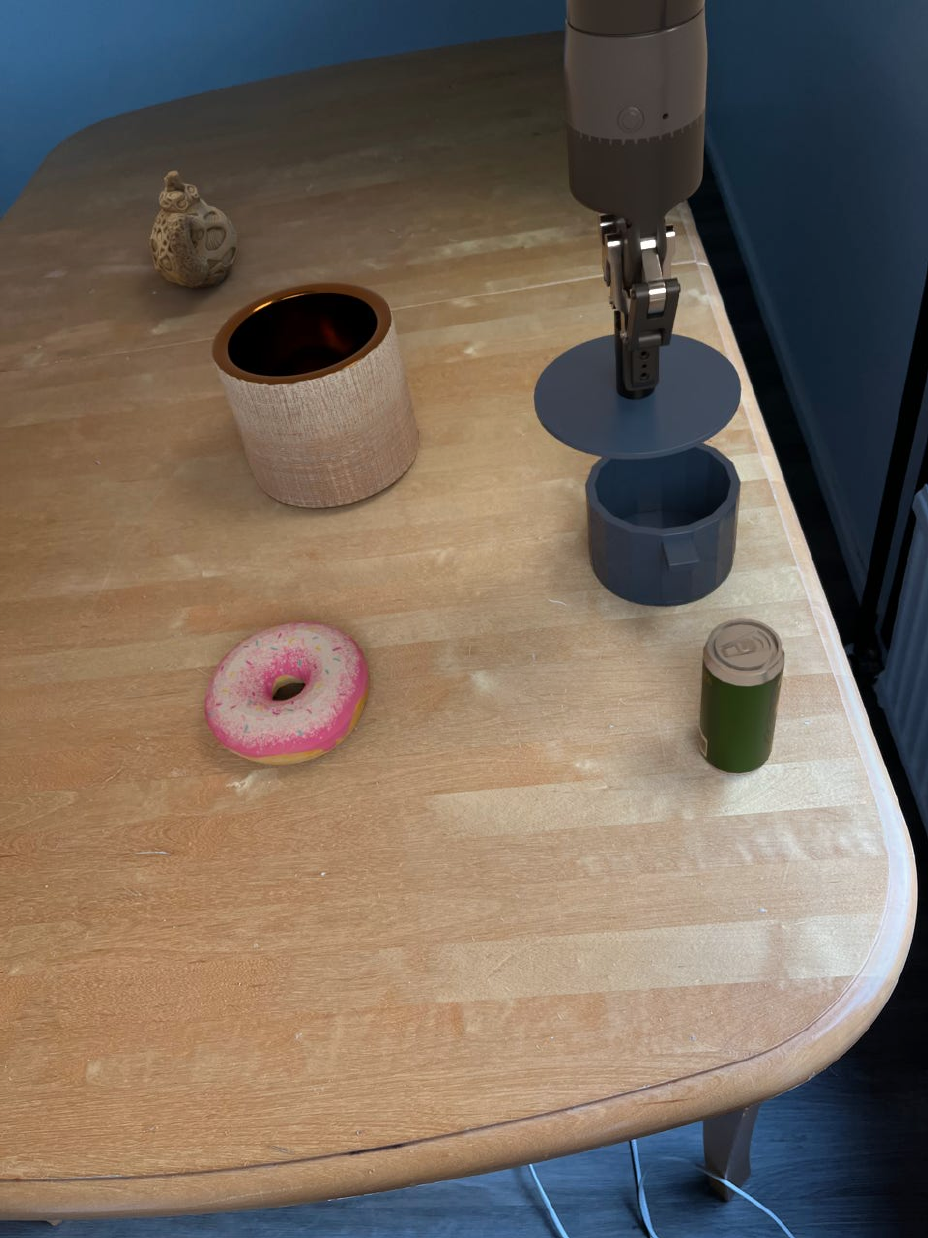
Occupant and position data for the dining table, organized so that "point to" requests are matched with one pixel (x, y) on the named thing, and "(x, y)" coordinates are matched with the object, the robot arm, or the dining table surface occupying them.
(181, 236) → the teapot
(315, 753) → the donut
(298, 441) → the planter
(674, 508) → the blue cooking pot
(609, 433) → the lid
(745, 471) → the dining table surface
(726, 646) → the beer can
